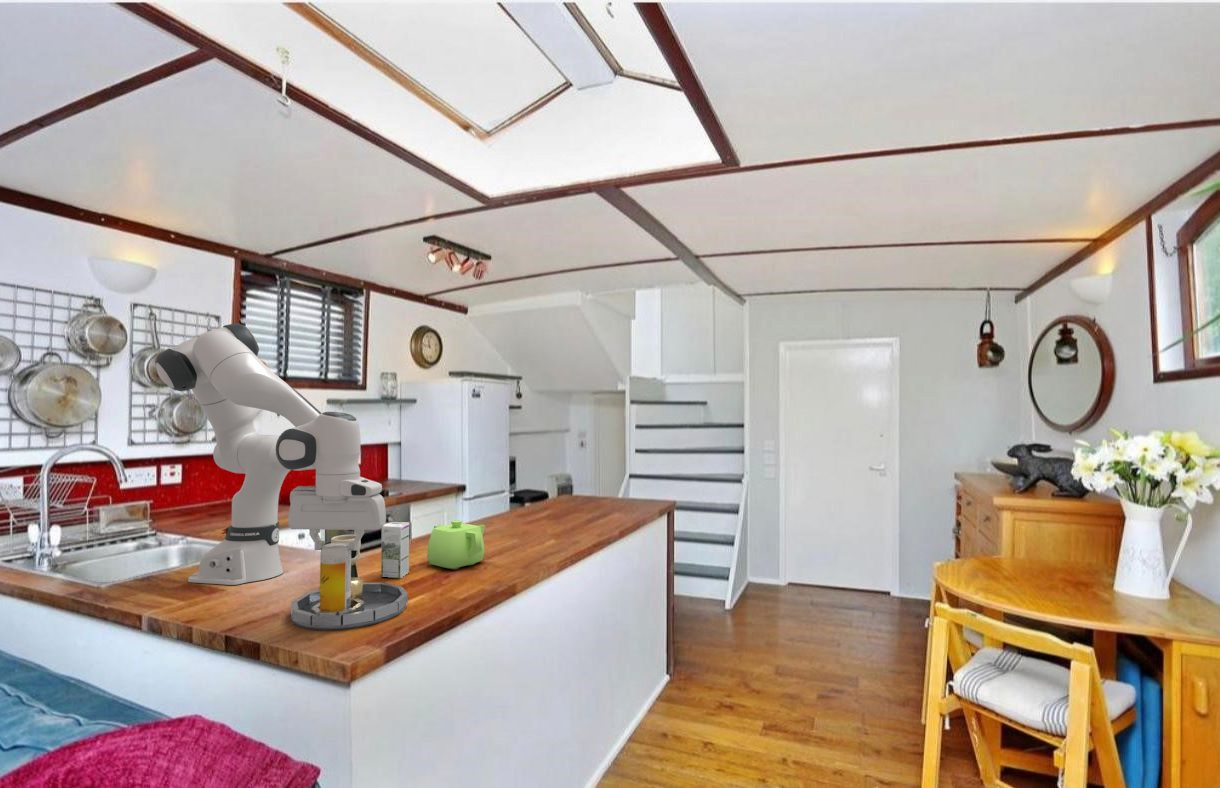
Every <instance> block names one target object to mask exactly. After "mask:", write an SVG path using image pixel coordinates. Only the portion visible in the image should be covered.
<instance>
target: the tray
mask: <svg viewBox="0 0 1220 788" xmlns="http://www.w3.org/2000/svg"><path fill="white" fill-rule="evenodd" d="M408 596H409V594H408V592H407V590H405V588H404V587H403V586H401V585H396V584H392V583H386V582H364V579H363V577H359V576H358V577H352V578H351V599H350V608H348V609H344V610H340V611H322V610H321V609H320V589H317V590H313V591H310V592H309V591H308V592H306V593H304V594H303V595H300V596H299V597H297V598H296V599H294V600H293V601H291V602H290V614H291V615H290V616H291V622H292V623H291V624H294V625H295V626H296V627H299V628H301V629H305V630H311V631H344V630H352V629H353V630H354V629H359V628H364V627H369V626H372V625H373V624H374V625H376V624H380V623H383V621H384V622H386V621H389V620H391V619H394V618H395V617H397V616H399V615H401V614H402V613H403V612H404V611H405V610H406V608H407V604H408V603H409V602H408V601H409V597H408ZM401 612H402V613H401Z"/></svg>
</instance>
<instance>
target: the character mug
mask: <svg viewBox="0 0 1220 788" xmlns="http://www.w3.org/2000/svg"><path fill="white" fill-rule="evenodd" d="M356 536H357V535H354V534H343V535H341V534H340V535H336V536H333V537H331V538H330V544H331V543H348V544H349V542H351V541H354V539H355V537H356ZM361 539H362V538H361ZM361 539H360V541H359V549H358V550H351V578H352V577H359V576H358V566H357V564H356V563H358V562H360V561H361V557H362V556H361V552H360V550H361V545H362V543H361V542H362V541H361Z"/></svg>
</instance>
